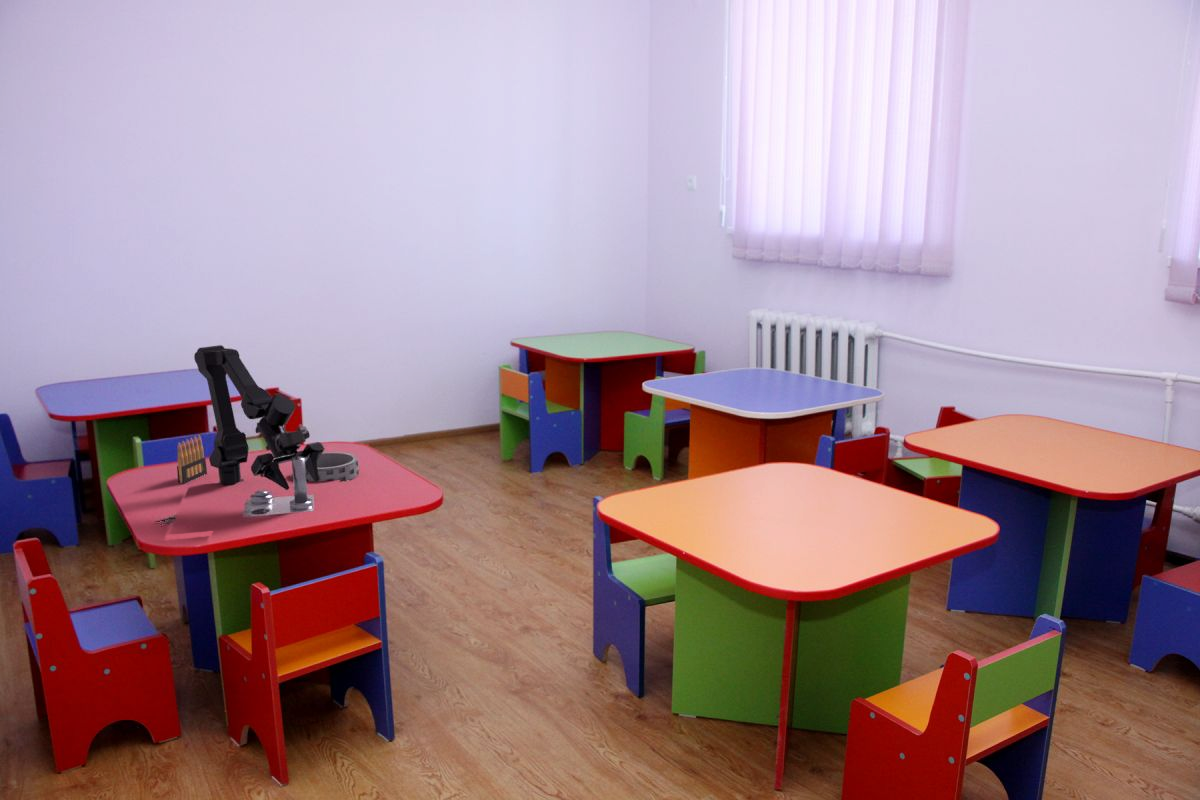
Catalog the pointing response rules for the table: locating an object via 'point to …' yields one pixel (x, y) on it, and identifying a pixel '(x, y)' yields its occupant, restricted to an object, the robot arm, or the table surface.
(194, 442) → the ammunition clip
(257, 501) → the grey metal knob
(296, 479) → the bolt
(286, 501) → the plate
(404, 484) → the table surface
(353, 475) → the ring
